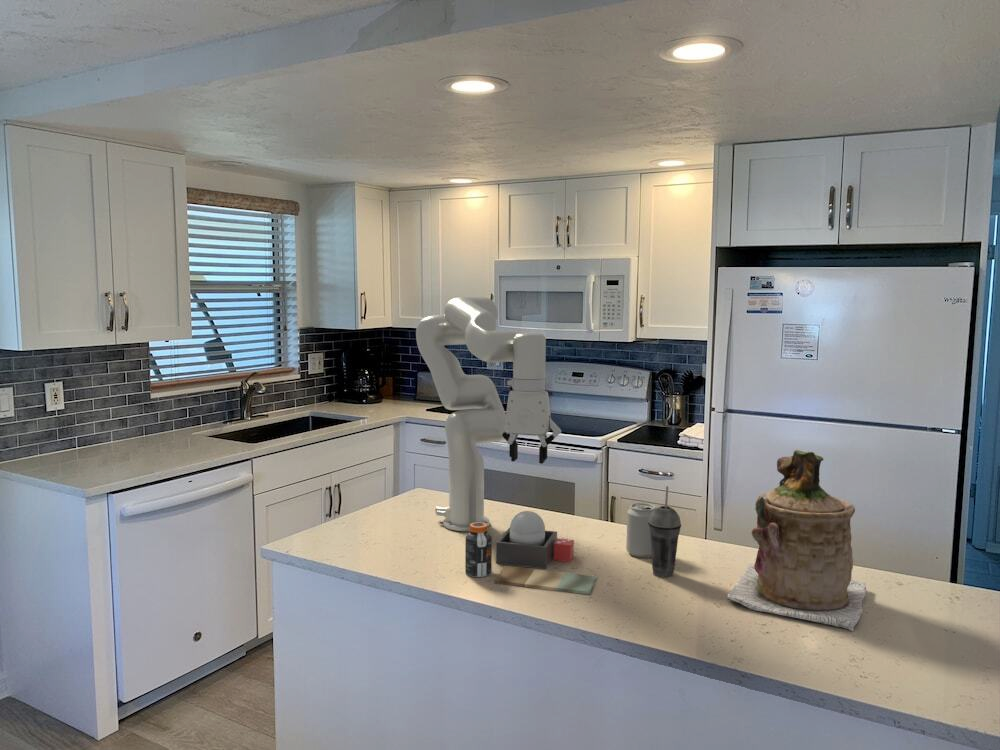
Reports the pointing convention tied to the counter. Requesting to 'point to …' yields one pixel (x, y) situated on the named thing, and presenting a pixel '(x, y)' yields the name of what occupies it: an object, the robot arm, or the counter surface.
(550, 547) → the box
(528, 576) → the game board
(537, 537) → the dome
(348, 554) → the counter surface
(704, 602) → the counter surface
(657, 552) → the beverage cup
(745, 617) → the counter surface
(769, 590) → the cookie jar
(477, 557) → the pill bottle
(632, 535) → the can
